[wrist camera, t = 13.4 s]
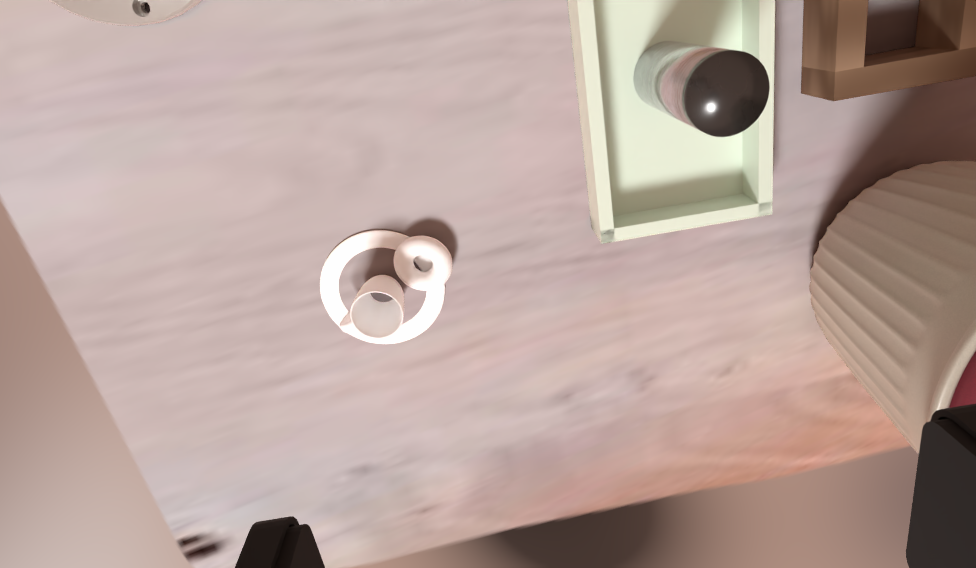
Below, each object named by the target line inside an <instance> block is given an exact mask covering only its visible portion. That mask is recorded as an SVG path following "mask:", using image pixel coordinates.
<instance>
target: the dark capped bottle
mask: <svg viewBox="0 0 976 568" xmlns="http://www.w3.org/2000/svg"><path fill="white" fill-rule="evenodd" d="M633 82H634V87H635V90H636V93H637V94H638V96H639V97H640V99H641V100H642V101H643V102H645V103H646V104H648V105H650V106H652V107H654V108H656V109H658V110H660V111H662V112H664V113H666V114H668V115H670V116H672V117H674V118H676V119H678V120H680V121H682V122H684V123H686V124H688V125H690V126H692V127H694V128H696V129H698V130H700V131H702V132H704V133H706V134H708V135H711V136H715V137H729V136H733V135H736V134H738V133H741V132H742V131H744V130H746V129H747V128H749V127H750V126H751V125H752V124H753V123H754V122H755V121H756V120H757V119H758V118H759V117H760V115H761V114H762V112H763V110H764V108H765V106H766V104H767V101H768V97H769V89H770V86H769V78H768V74H767V71H766V69H765V67H764V66H763V64H762V63H761V62H760V61H759V60H758V59H757V58H756V57H754V56H753V55H751V54H749V53H746V52H743V51H737V50H731V49H724V48H717V47H710V46H703V45H696V44H689V43H683V42H676V41H663V42H659V43H656V44H654V45H652V46H651V47H649V48H648V49H647V50H646V51H645V52H644V53H643V54H642V55H641V56H640V58H639V59H638V61H637V63H636V66H635V69H634V75H633Z"/></svg>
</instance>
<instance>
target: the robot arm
mask: <svg viewBox="0 0 976 568" xmlns="http://www.w3.org/2000/svg"><path fill="white" fill-rule="evenodd" d="M49 1H50V2H52V3H54V4H56V5H57V6H59V7H61V8H63V9H65V10H66V11H68V12H70V13H73V14H75V15H78V16H81V17H84V18H86V19H89V20H92V21H95V22H101V23H106V24H112V25H118V26H138V25H146V24H154V23H161V22H163V21H166V20H169V19H172V18H174V17H177V16H180V15H182V14H183V13H185V12H186V11H188V10H189V9H191V8H193V7H194V6H196V5H197V4H199V3H200V2H201V1H202V0H49ZM145 3H148V4H149V6H150V12H149V13H148V12H147V11H146V10H145V7H144V5H145ZM906 558H907V563H908V565H909V568H976V403H975V404H969V405H963V406H957V407H951V408H945V409H940V410H937V411H935V412H934V413H933V415H932V417H931V421H929V422H926V423H925V424H924V425H923V429H922V435H921V442H920V450H919V457H918V465H917V473H916V480H915V488H914V496H913V503H912V511H911V519H910V527H909V534H908V542H907V549H906ZM235 568H325V566H324V564H323V561H322V558H321V555H320V553H319V550H318V547H317V544H316V542H315V539H314V536H313V534H312V531H311V529H310V527H309V526H308V525H307V524H303V525H299V523H298V521H297V519H295V518H294V517H285V518H278V519H272V520H266V521H260V522H256V523H255V524H253V525H252V527H251V529H250V531H249V533H248V536H247V538H246V541H245V544H244V546H243V549H242V551H241V554H240V556H239V559H238V561H237V564H236V566H235Z"/></svg>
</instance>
